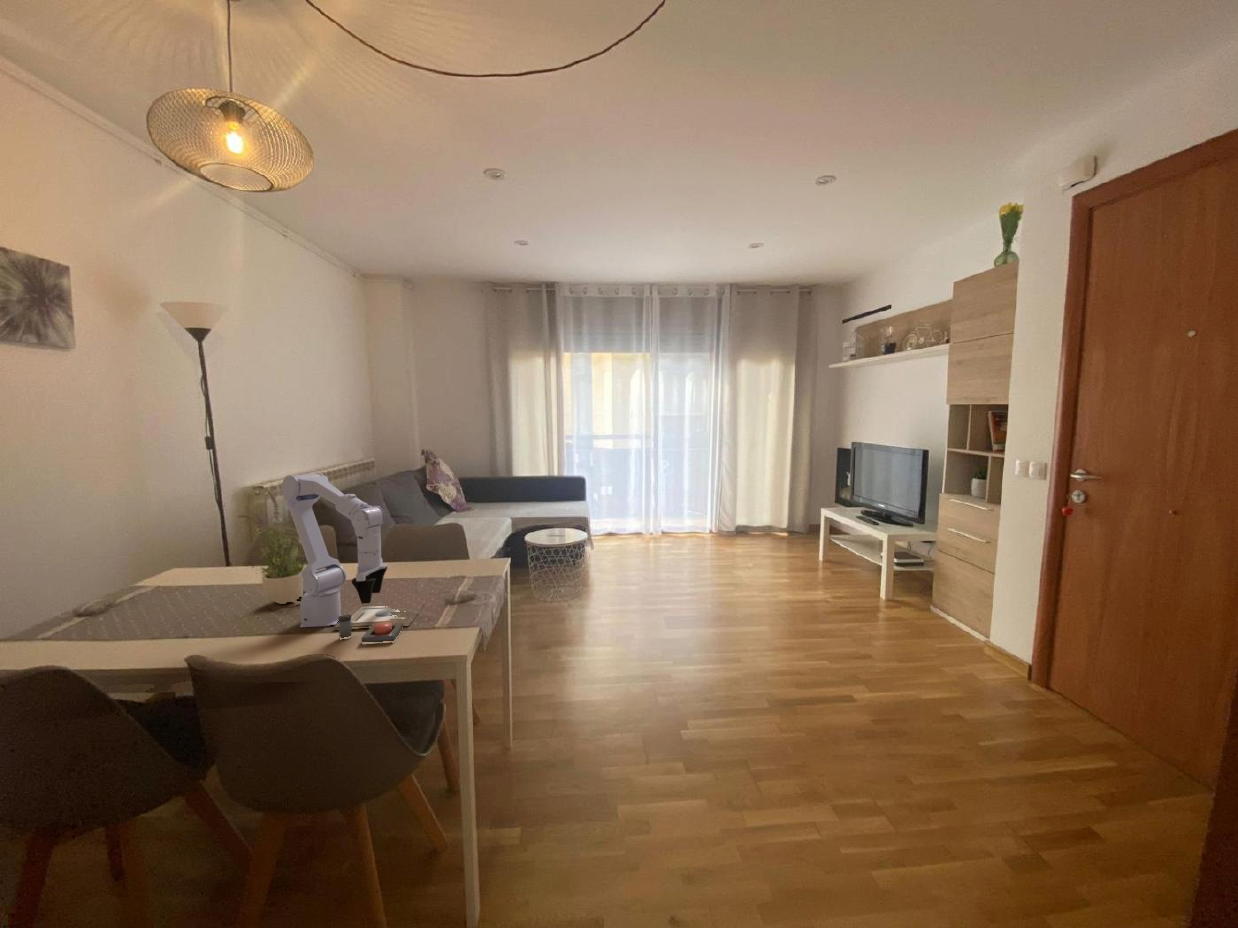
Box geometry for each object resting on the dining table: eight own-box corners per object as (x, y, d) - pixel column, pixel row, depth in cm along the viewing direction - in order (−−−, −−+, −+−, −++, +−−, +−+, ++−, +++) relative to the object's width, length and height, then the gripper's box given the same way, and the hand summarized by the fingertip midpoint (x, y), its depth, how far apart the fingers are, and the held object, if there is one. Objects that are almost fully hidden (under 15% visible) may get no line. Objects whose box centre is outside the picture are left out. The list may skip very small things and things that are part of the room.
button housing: (361, 644, 121) (361, 637, 121) (373, 631, 129) (373, 624, 128) (394, 643, 122) (393, 635, 122) (403, 629, 130) (403, 622, 130)
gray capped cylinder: (337, 640, 123) (336, 619, 123) (342, 635, 126) (341, 614, 125) (349, 639, 123) (348, 618, 123) (353, 634, 126) (353, 613, 126)
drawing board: (334, 630, 129) (334, 626, 129) (357, 608, 145) (357, 604, 145) (409, 626, 132) (409, 622, 132) (424, 604, 148) (424, 601, 148)
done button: (371, 635, 123) (371, 628, 122) (377, 628, 127) (377, 621, 127) (388, 634, 123) (388, 627, 123) (394, 627, 128) (394, 620, 127)
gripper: (375, 557, 121) (377, 607, 122) (393, 543, 135) (394, 587, 136) (346, 558, 120) (348, 608, 121) (367, 543, 134) (368, 588, 135)
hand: (371, 597), depth 128 cm, fingers open, 7 cm apart
